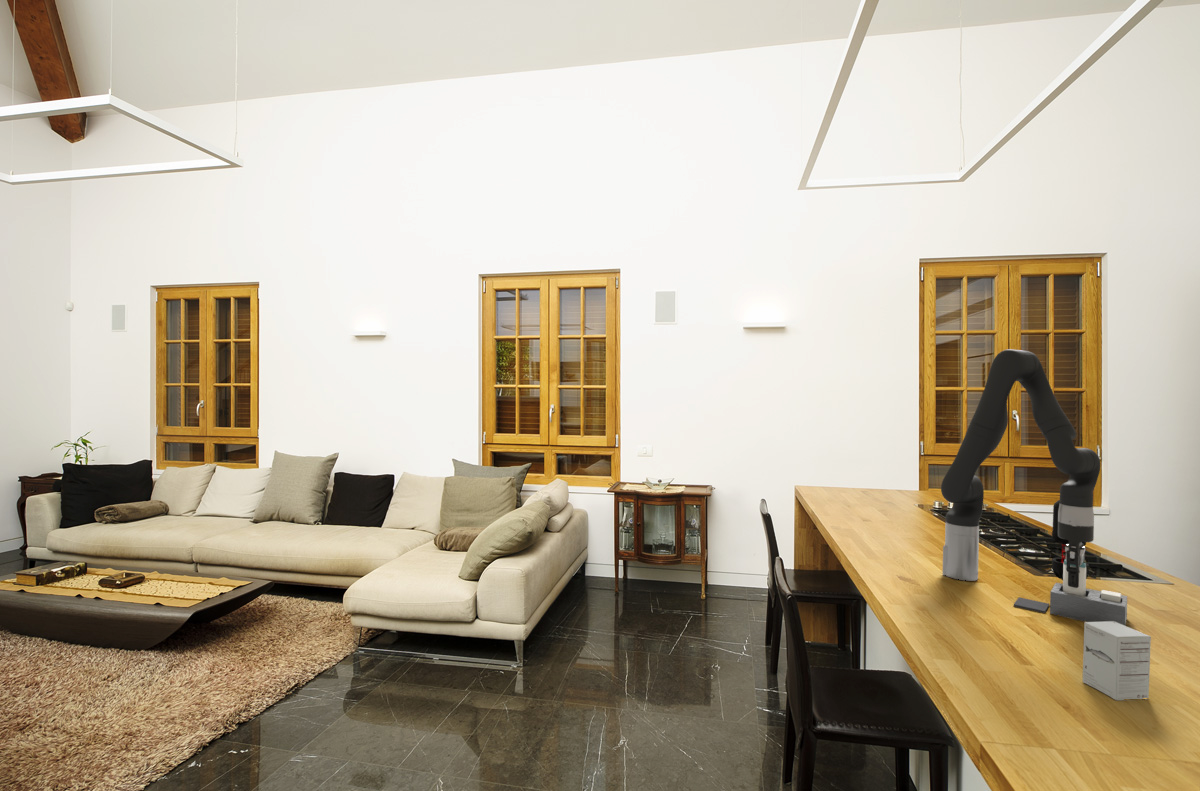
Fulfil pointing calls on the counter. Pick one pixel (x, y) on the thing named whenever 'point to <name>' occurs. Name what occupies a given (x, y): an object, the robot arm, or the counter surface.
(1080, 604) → the housing
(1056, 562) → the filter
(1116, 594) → the off-white cube
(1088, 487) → the robot arm
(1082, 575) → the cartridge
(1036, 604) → the mat
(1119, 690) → the supplement box
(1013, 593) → the counter surface
